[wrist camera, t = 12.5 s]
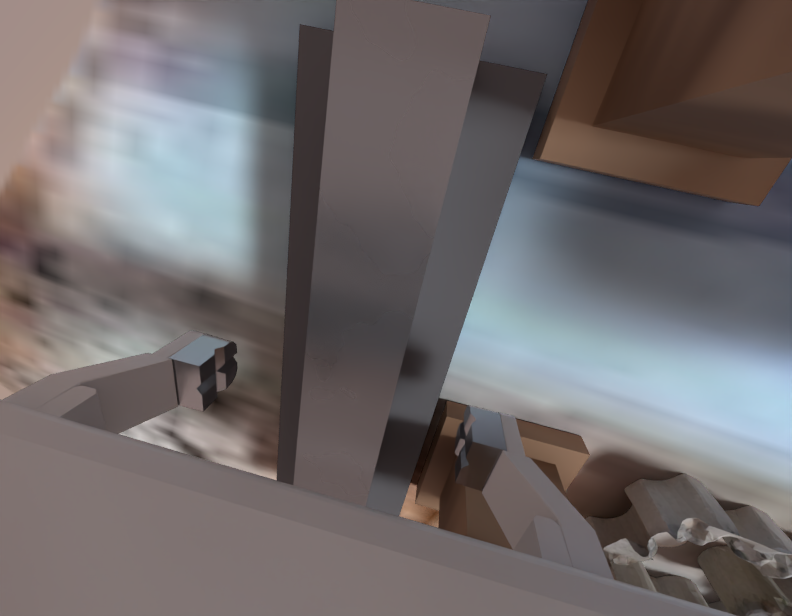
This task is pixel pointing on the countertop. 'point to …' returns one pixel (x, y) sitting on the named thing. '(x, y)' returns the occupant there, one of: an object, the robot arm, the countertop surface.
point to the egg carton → (701, 523)
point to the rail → (377, 221)
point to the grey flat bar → (447, 266)
